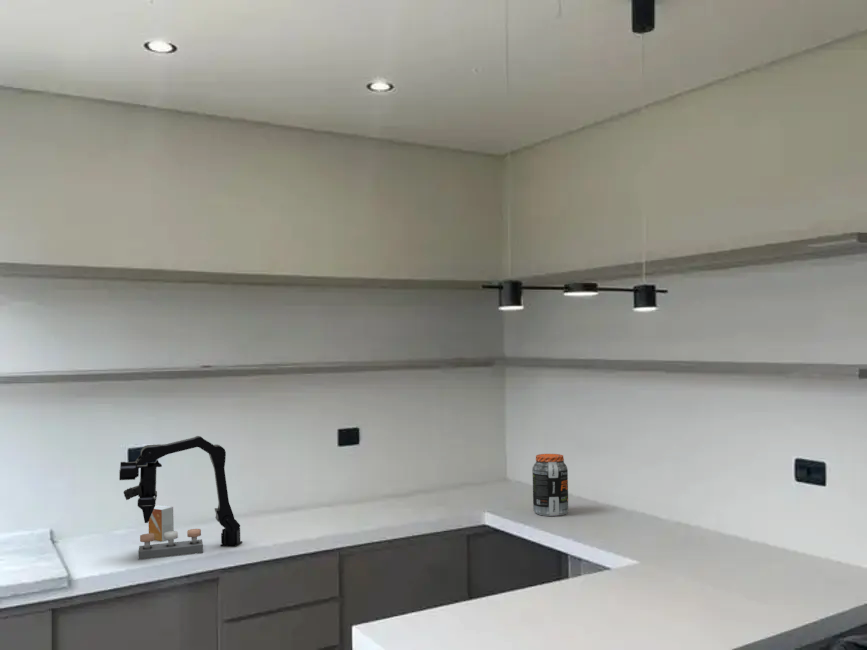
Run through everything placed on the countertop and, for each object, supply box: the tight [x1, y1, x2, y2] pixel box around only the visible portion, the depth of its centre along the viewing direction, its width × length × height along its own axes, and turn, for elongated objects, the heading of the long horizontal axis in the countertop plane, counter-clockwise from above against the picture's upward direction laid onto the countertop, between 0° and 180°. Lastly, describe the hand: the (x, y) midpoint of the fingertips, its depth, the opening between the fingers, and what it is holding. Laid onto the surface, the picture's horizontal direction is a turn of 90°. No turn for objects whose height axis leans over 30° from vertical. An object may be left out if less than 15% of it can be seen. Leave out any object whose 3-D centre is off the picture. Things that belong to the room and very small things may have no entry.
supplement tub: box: [532, 453, 569, 517], centre depth 341 cm, size 16×16×26 cm
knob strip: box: [137, 539, 204, 561], centre depth 290 cm, size 23×9×3 cm, turn 109°
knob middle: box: [164, 530, 179, 547], centre depth 290 cm, size 5×5×5 cm
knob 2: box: [186, 528, 202, 544], centre depth 292 cm, size 5×5×5 cm
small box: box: [148, 504, 175, 542], centre depth 312 cm, size 8×6×13 cm
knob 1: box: [139, 532, 155, 549], centre depth 287 cm, size 5×5×5 cm
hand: (146, 520), depth 288 cm, fingers open, 9 cm apart
